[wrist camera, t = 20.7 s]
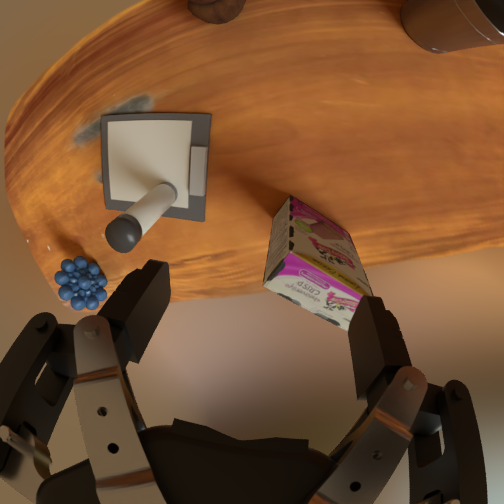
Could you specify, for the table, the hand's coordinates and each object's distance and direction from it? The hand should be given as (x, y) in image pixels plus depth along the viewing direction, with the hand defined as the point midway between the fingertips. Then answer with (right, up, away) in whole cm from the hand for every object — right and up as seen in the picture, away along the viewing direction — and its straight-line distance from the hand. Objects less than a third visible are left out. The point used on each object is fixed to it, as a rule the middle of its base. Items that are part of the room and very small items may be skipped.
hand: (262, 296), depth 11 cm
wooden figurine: (-4, +34, +14) cm, 37 cm away
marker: (-13, +10, +28) cm, 32 cm away
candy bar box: (+8, +6, +29) cm, 30 cm away
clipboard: (-16, +15, +26) cm, 34 cm away
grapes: (-33, -1, +39) cm, 51 cm away
